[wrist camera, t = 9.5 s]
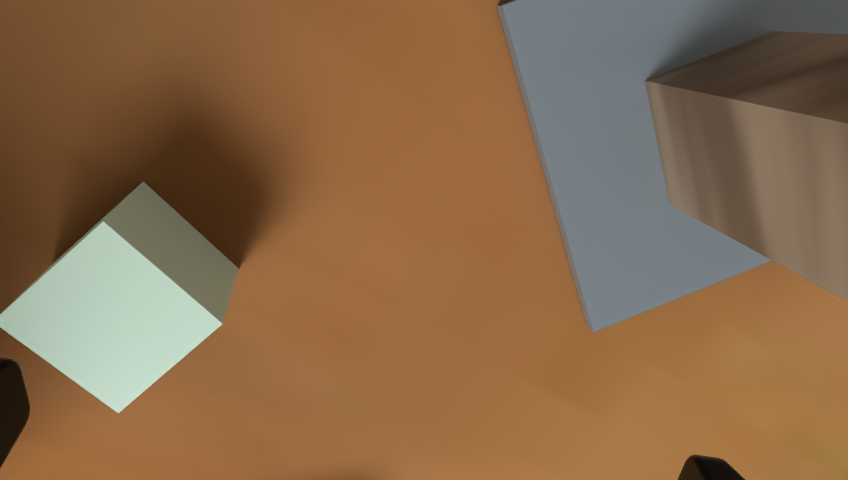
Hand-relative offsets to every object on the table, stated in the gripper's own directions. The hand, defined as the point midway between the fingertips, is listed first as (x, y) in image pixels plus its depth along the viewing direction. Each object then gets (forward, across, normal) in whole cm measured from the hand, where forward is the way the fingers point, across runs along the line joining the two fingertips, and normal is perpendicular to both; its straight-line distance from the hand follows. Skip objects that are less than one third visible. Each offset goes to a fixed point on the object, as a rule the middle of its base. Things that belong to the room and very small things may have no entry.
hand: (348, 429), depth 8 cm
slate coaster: (+16, -10, -1) cm, 18 cm away
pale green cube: (+11, +8, +5) cm, 14 cm away
